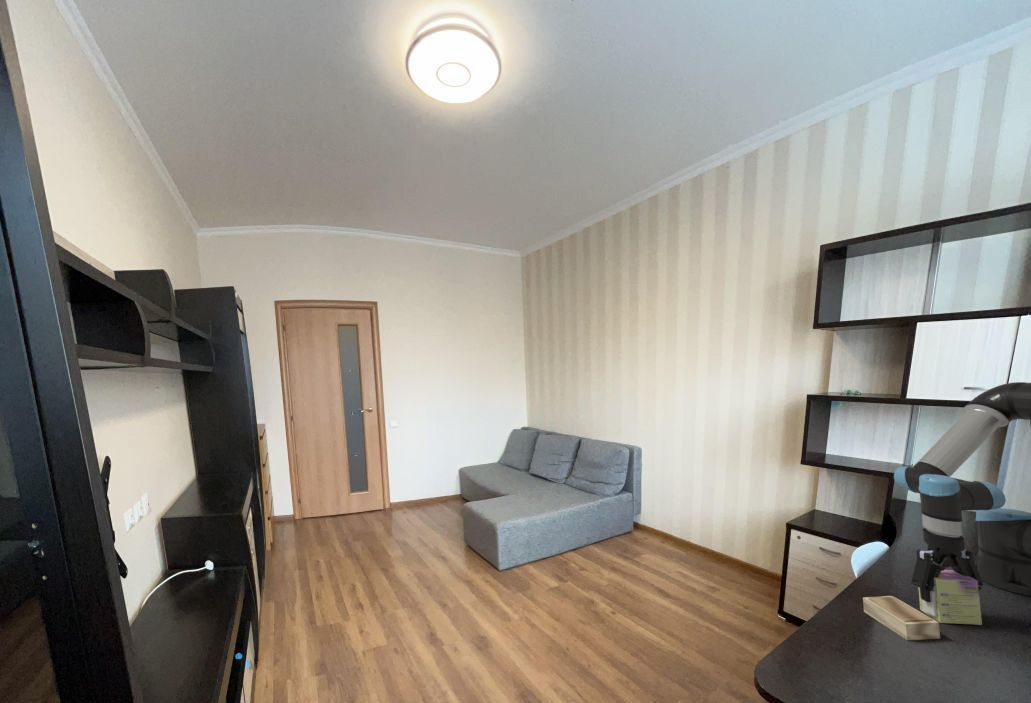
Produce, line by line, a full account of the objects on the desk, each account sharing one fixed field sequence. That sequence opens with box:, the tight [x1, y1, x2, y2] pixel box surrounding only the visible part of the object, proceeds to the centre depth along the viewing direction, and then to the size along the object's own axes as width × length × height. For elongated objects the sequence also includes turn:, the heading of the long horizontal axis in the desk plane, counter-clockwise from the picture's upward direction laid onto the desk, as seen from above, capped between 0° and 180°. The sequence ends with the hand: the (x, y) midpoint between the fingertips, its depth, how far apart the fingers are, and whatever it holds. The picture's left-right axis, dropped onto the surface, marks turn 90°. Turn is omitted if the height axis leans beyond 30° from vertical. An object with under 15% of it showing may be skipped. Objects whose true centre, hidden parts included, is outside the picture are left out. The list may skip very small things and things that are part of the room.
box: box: [917, 569, 983, 626], centre depth 100 cm, size 10×6×12 cm, turn 84°
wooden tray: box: [862, 595, 941, 641], centre depth 98 cm, size 9×11×4 cm
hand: (949, 611), depth 100 cm, fingers closed on box, 11 cm apart
